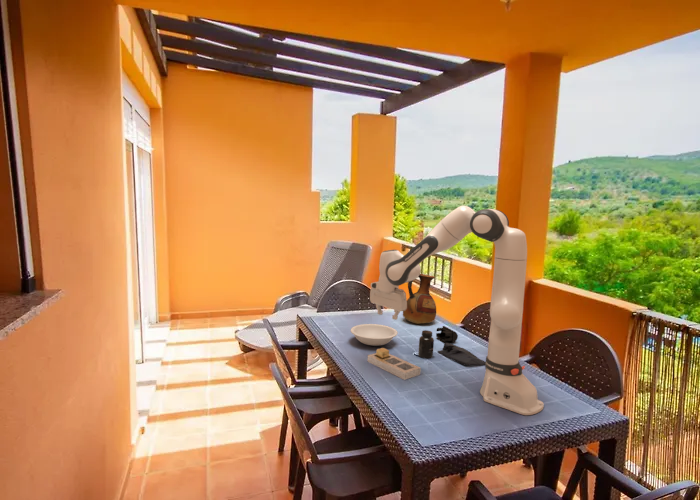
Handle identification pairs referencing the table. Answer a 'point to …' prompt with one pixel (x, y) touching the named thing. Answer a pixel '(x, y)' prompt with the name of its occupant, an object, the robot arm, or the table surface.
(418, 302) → the ceramic pitcher
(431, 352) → the supplement bottle
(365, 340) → the soup bowl
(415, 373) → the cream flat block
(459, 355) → the dark slate chunk
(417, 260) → the robot arm
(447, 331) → the end cap
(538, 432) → the table surface
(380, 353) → the golden yellow block
